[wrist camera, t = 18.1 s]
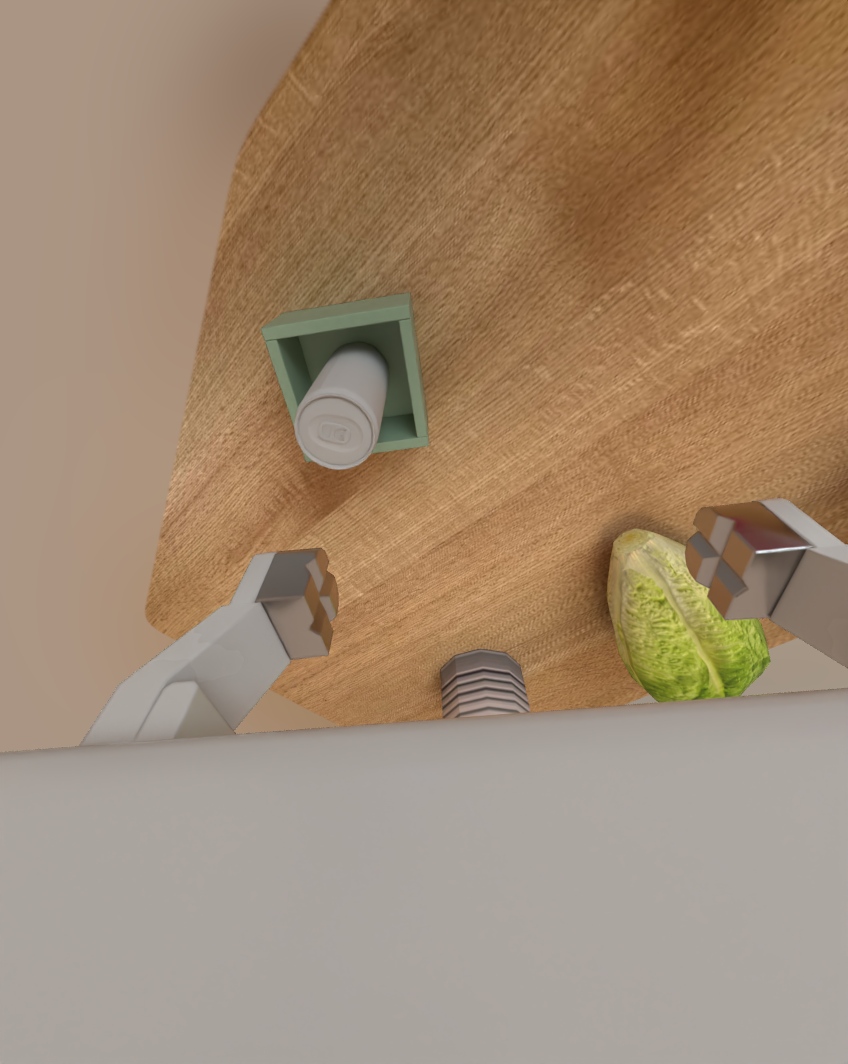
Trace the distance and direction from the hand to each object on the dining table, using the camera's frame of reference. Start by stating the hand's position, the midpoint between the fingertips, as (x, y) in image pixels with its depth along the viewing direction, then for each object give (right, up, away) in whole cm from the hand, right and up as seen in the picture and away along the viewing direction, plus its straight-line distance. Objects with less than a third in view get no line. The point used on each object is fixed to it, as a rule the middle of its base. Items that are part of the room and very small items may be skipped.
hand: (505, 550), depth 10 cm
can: (+6, -19, +49) cm, 53 cm away
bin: (-7, +13, +24) cm, 29 cm away
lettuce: (+24, -5, +38) cm, 45 cm away
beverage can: (-7, +13, +24) cm, 28 cm away
